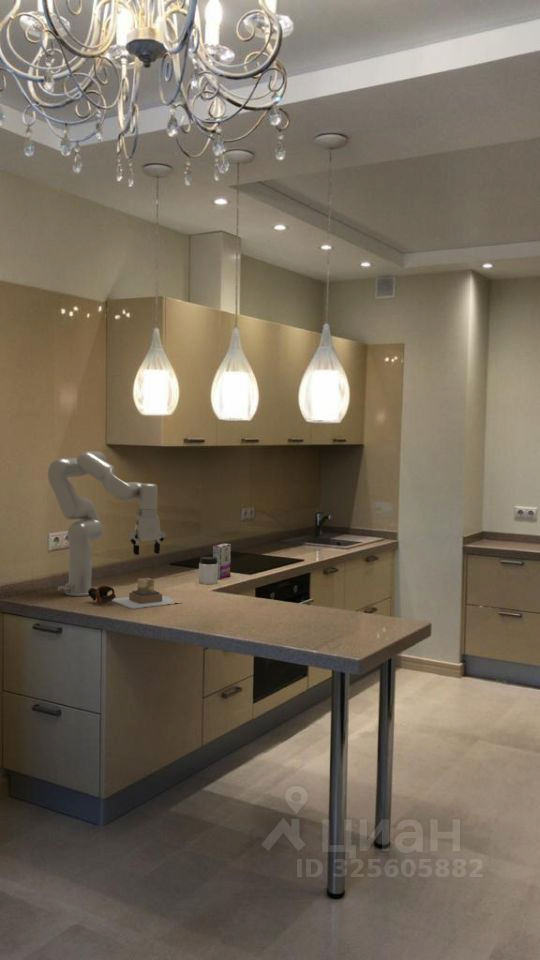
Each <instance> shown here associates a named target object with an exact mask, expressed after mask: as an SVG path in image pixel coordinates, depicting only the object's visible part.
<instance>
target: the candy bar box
mask: <svg viewBox="0 0 540 960" xmlns="http://www.w3.org/2000/svg"><path fill="white" fill-rule="evenodd" d="M231 554H232V544H230V543H220V544H216V545H213V546H212V557H216V558H217V563H218V577H217V580H222V578H223V579H226V578H229V577H231V559H232V557H231ZM228 576H229V577H228Z"/></svg>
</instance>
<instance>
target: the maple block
mask: <svg viewBox="0 0 540 960" xmlns="http://www.w3.org/2000/svg"><path fill="white" fill-rule="evenodd" d="M154 591H155V579H153V578H149V577H141V578H137V592H139V593H142V594H145V593H154Z"/></svg>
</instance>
